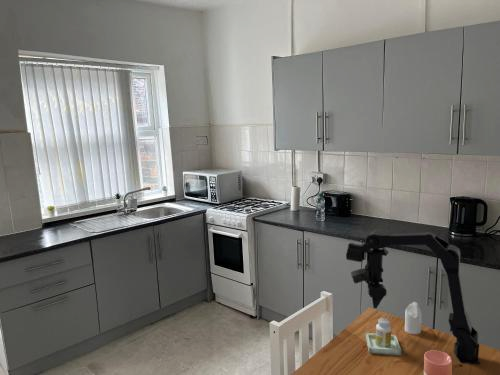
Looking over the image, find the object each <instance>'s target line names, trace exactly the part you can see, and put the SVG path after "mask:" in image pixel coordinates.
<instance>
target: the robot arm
mask: <svg viewBox="0 0 500 375" xmlns="http://www.w3.org/2000/svg"><path fill="white" fill-rule="evenodd" d="M391 246H426V247H428V248H429V249H430V250H431V251H432V252H433V254H434V255H435V256H437V257H438V258H439V259H440V262H441V264H442V267H443V269H444V272H445V273H446V276H447V283H448V288H449V296H450V301H451V305H452V306H451V308H452V312H449V314H448V324H449V332H451V333H452V335H453V337H454V338H456V339H455V341H456V342H455V343H454V345H453V346H454V350H453V353H454V355H455V357H456V358H457V360H458V361H459V362H460V363H463V364H477V365H480V364H481V361H480V360H479V352H480V343H479V332H478V331H477V330H476V329H475V328H474V327H473V324H472V321H471V318H470V316H469V314H468V312H467V310H466V306H465V300H464V293H463V287H462V280H461V273H460V266H461V250H460V248H459V247H457V245H453V244H450V243H449V242H447V240H445V239H443V238H441V237H439V236H437V235H436V234H435V233H434V232H431V231H426V232H403V233H402V232H400V233H392V232H387V231H382V230H373V231H371V233H369V234H368V236H366V239H365V242H363V244H357V243H355V242H349V243H348V246H347V249H346V254H345V257H346V260H347V261H351V262H356V263H357V262H358V263H363V262H364V261H366V263H365V265H364V268H359V269H356V270H352V271H351V272H350V274H351V278H352V281H353V283H354V284H359V283H361V282H365V283H366V284H367V294H368V296H369V297H370V298H371V301H372V307H373V309H377V308H378V307H379V306H380V303H381V302H382V301H383V299H384V297H386V296H387V293H388V292H387V288H386V286H385V285H384V284H383V282H384V279H383V273H384V268H383V263H384V262H383V261H384V259H383V258H384V256H385V257H387V256H388V254H389V253H390V252H389V251H388V250H387V249H386V248H389V247H391Z"/></svg>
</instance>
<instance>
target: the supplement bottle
mask: <svg viewBox="0 0 500 375" xmlns="http://www.w3.org/2000/svg"><path fill="white" fill-rule="evenodd" d="M390 323H391V321H390V320H389V319H388V318H386V317H380V318H378V319H377V324H376V325H375V334H376V340H375V343H376V345H377V346H378V347H380V348H389V347H390V346H391V335H392V327H391V325H390Z"/></svg>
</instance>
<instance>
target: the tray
mask: <svg viewBox="0 0 500 375" xmlns="http://www.w3.org/2000/svg"><path fill="white" fill-rule="evenodd" d="M375 340H376V333H374V332H373V333H371V332H370V333H369V332H366V333H365V341H366V345H367V346H366V347H367V349H368V353H369V354H374V355H375V354H378V355H388V356H389V355H390V356H402V348H401V345H400V343H399V341H398V338H397V334H391V346H390V347H389V348H380V347H378V346H377V345H376V343H375Z"/></svg>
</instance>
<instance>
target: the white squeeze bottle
mask: <svg viewBox="0 0 500 375" xmlns="http://www.w3.org/2000/svg"><path fill="white" fill-rule="evenodd" d="M422 314H423V313H422V311H421V309H420V308H419V303H418V302H416V301H413V302H411V303H410V304H408V306H407V307H406V309H405V314H404V315H405V317H404V320H405V321H404V331H405V332H406V333H407V334H409V335H410V334H411V335H419V334H421V333H422V318H423V316H422Z"/></svg>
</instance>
